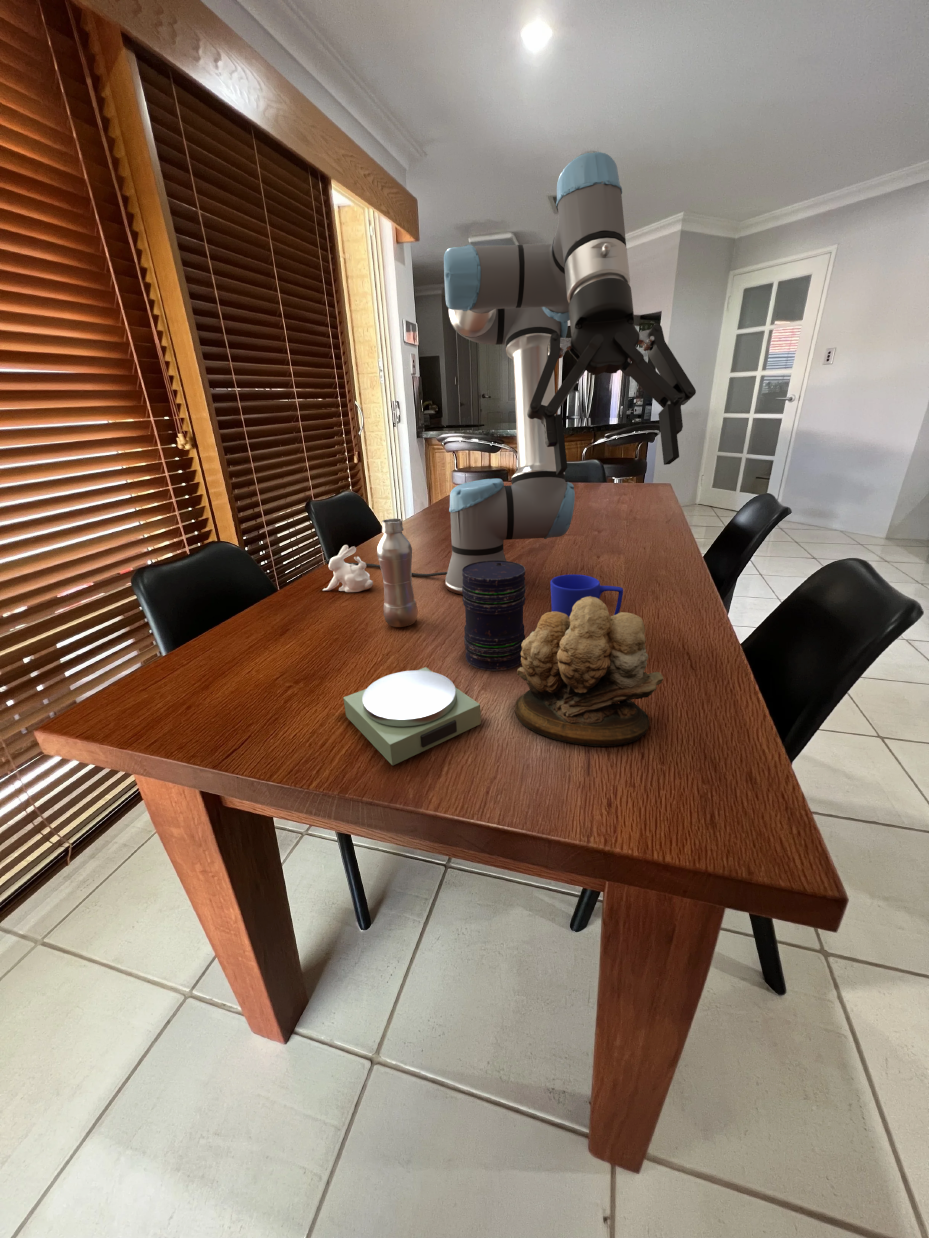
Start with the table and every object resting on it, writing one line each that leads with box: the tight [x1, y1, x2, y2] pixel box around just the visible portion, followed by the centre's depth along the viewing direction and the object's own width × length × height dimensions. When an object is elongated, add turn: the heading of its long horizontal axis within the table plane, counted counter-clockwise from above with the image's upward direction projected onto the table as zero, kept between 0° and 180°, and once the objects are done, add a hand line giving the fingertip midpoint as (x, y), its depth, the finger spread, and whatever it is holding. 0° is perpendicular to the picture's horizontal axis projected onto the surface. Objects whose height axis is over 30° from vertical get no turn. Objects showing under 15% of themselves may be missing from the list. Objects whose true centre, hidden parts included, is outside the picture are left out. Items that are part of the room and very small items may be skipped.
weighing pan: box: [362, 669, 457, 727], centre depth 64 cm, size 12×12×1 cm
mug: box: [550, 574, 624, 619], centre depth 86 cm, size 8×12×10 cm
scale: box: [342, 666, 482, 766], centre depth 65 cm, size 13×13×3 cm
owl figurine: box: [514, 596, 664, 747], centre depth 61 cm, size 18×12×17 cm, turn 72°
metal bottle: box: [376, 518, 419, 628], centre depth 91 cm, size 6×7×20 cm
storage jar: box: [462, 560, 526, 672], centre depth 79 cm, size 10×10×15 cm
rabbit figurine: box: [322, 544, 374, 593], centre depth 115 cm, size 12×8×10 cm, turn 73°
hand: (616, 466), depth 61 cm, fingers open, 13 cm apart
